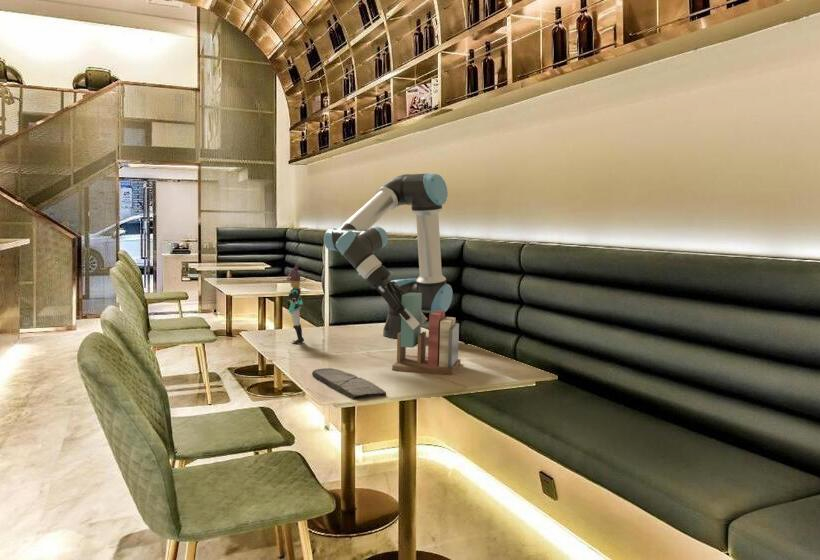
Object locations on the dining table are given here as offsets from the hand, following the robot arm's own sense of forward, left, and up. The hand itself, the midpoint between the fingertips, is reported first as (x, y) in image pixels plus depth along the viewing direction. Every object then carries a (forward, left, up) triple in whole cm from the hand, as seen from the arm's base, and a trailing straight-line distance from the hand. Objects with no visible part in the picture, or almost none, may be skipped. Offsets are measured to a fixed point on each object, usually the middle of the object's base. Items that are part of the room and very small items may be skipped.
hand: (420, 324), depth 193 cm
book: (0, -3, -7) cm, 7 cm away
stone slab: (+29, -14, -14) cm, 35 cm away
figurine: (-22, -53, -14) cm, 59 cm away
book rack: (0, +3, -13) cm, 14 cm away
